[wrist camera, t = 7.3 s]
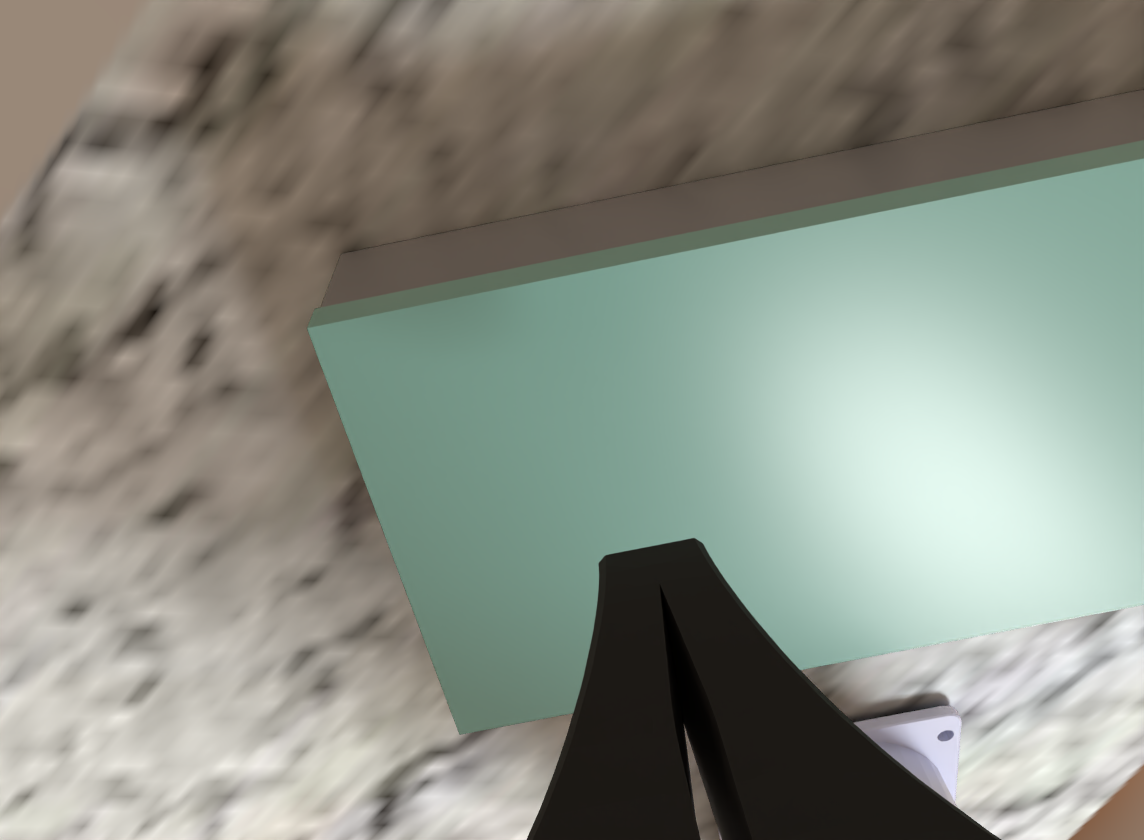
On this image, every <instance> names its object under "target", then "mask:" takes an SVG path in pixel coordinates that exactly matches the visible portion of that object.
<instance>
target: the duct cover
mask: <svg viewBox="0 0 1144 840" xmlns="http://www.w3.org/2000/svg"><path fill="white" fill-rule="evenodd" d="M307 330H308V333H309V335H310V338H311V341H312V343H313V346H314V349H315V351H316V354H317V356H318V359H319V362H320V364H321V367H322V370H323V372H324V375H325V378H326V380H327V383H328V386H329V388H330V391H331V394H332V396H333V399H334V402H335V404H336V407H337V410H338V412H339V415H340V418H341V420H342V423H343V426H344V428H345V431H346V434H347V436H348V439H349V442H350V444H351V447H352V450H353V452H354V455H355V458H356V460H357V463H358V466H359V468H360V471H361V474H362V476H363V479H364V482H365V484H366V487H367V490H368V492H369V495H370V498H371V500H372V503H373V506H374V508H375V511H376V514H377V516H378V519H379V522H380V524H381V527H382V530H383V532H384V535H385V538H386V540H387V543H388V545H389V548H390V551H391V553H392V556H393V559H394V561H395V564H396V567H397V569H398V572H399V575H400V577H401V580H402V583H403V585H404V588H405V591H406V593H407V596H408V599H409V601H410V604H411V607H412V609H413V612H414V615H415V617H416V620H417V623H418V625H419V628H420V631H421V633H422V636H423V639H424V641H425V644H426V647H427V649H428V652H429V655H430V657H431V660H432V663H433V665H434V668H435V671H436V673H437V676H438V679H439V681H440V684H441V687H442V689H443V692H444V695H445V697H446V700H447V703H448V705H449V708H450V711H451V713H452V716H453V719H454V721H455V724H456V727H457V729H458V732H459V735H461V734H466V733H471V732H477V731H482V730H487V729H492V728H498V727H503V726H508V725H514V724H519V723H524V722H529V721H535V720H540V719H545V718H550V717H556V716H561V715H566V714H572V713H574V709H575V706H576V702H577V699H578V695H579V692H580V688H581V685H582V681H583V677H584V672H585V667H586V663H587V658H588V653H589V649H590V644H591V639H592V635H593V629H594V622H595V616H596V609H597V601H598V589H599V564H598V563H599V562H600V561H601V560H602V558H603V557H604V556H605V555H608V554H613V553H619V552H624V551H629V550H634V549H639V548H644V547H650V546H655V545H660V544H665V543H670V542H675V541H681V540H686V539H691V538H695V539H697V540H699V541H700V542H702V543H703V544H704V546H705V548H706V550H707V552H708V553H709V555H710V557H711V558H712V560H713V562H714V563H715V565H716V566H717V568H718V569H719V571H720V573H721V574H722V575H723V577H724V578H725V580H726V581H727V583H728V584H729V585H730V587H731V588H732V589H733V591H734V592H735V593H736V595H737V596H738V598H739V599H740V600H741V602H742V603H743V604H744V605H745V607H746V608H747V609H748V611H749V612H750V613H751V614H752V616H753V617H754V618H755V619H756V620H757V622H758V623H759V624H760V625H761V626H762V627H763V629H764V630H765V631H766V632H767V633H768V635H769V636H770V637H771V638H772V639H773V640H774V642H775V643H776V644H777V645H778V646H779V647H780V649H781V650H782V651H783V652H784V653H785V654H786V655H787V656H788V657H789V659H790V660H791V661H792V662H793V663H794V664H795V665H796V666H797V667H798V668H799V669H800V670H803V669H809V668H814V667H819V666H825V665H830V664H835V663H840V662H846V661H851V660H856V659H861V658H867V657H872V656H877V655H883V654H888V653H893V652H898V651H904V650H909V649H914V648H919V647H925V646H930V645H935V644H940V643H946V642H951V641H956V640H962V639H967V638H972V637H977V636H983V635H988V634H993V633H998V632H1004V631H1009V630H1014V629H1020V628H1025V627H1030V626H1035V625H1041V624H1046V623H1051V622H1056V621H1062V620H1067V619H1072V618H1078V617H1083V616H1088V615H1093V614H1099V613H1104V612H1109V611H1114V610H1120V609H1125V608H1130V607H1135V606H1141V605H1144V140H1142V141H1137V142H1132V143H1127V144H1122V145H1118V146H1113V147H1108V148H1103V149H1098V150H1093V151H1088V152H1083V153H1078V154H1073V155H1068V156H1063V157H1058V158H1054V159H1049V160H1044V161H1039V162H1034V163H1029V164H1024V165H1019V166H1014V167H1009V168H1004V169H999V170H995V171H990V172H985V173H980V174H975V175H970V176H965V177H960V178H955V179H950V180H945V181H940V182H935V183H931V184H926V185H921V186H916V187H911V188H906V189H901V190H896V191H891V192H886V193H881V194H876V195H872V196H867V197H862V198H857V199H852V200H847V201H842V202H837V203H832V204H827V205H822V206H817V207H813V208H808V209H803V210H798V211H793V212H788V213H783V214H778V215H773V216H768V217H763V218H758V219H753V220H749V221H744V222H739V223H734V224H729V225H724V226H719V227H714V228H709V229H704V230H699V231H694V232H690V233H685V234H680V235H675V236H670V237H665V238H660V239H655V240H650V241H645V242H640V243H635V244H630V245H626V246H621V247H616V248H611V249H606V250H601V251H596V252H591V253H586V254H581V255H576V256H571V257H567V258H562V259H557V260H552V261H547V262H542V263H537V264H532V265H527V266H522V267H517V268H512V269H507V270H503V271H498V272H493V273H488V274H483V275H478V276H473V277H468V278H463V279H458V280H453V281H448V282H444V283H439V284H434V285H429V286H424V287H419V288H414V289H409V290H404V291H399V292H394V293H389V294H385V295H380V296H375V297H370V298H365V299H360V300H355V301H350V302H345V303H340V304H335V305H330V306H325V307H321V308H316V309H315V310H314V312H313V314H312V317H311V319H310V322H309V324H308V327H307Z"/></svg>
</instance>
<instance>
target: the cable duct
mask: <svg viewBox="0 0 1144 840" xmlns="http://www.w3.org/2000/svg"><path fill="white" fill-rule="evenodd" d="M1142 140H1144V90H1139V91H1134V92H1129V93H1124V94H1119V95H1114V96H1109V97H1104V98H1100V99H1095V100H1090V101H1085V102H1080V103H1075V104H1070V105H1065V106H1061V107H1056V108H1051V109H1046V110H1041V111H1036V112H1031V113H1026V114H1021V115H1017V116H1012V117H1007V118H1002V119H997V120H992V121H987V122H982V123H977V124H973V125H968V126H963V127H958V128H953V129H948V130H943V131H938V132H934V133H929V134H924V135H919V136H914V137H909V138H904V139H899V140H894V141H890V142H885V143H880V144H875V145H870V146H865V147H860V148H855V149H851V150H846V151H841V152H836V153H831V154H826V155H821V156H816V157H811V158H807V159H802V160H797V161H792V162H787V163H782V164H777V165H772V166H767V167H763V168H758V169H753V170H748V171H743V172H738V173H733V174H728V175H724V176H719V177H714V178H709V179H704V180H699V181H694V182H689V183H684V184H680V185H675V186H670V187H665V188H660V189H655V190H650V191H645V192H640V193H636V194H631V195H626V196H621V197H616V198H611V199H606V200H601V201H597V202H592V203H587V204H582V205H577V206H572V207H567V208H562V209H557V210H553V211H548V212H543V213H538V214H533V215H528V216H523V217H518V218H514V219H509V220H504V221H499V222H494V223H489V224H484V225H479V226H474V227H470V228H465V229H460V230H455V231H450V232H445V233H440V234H435V235H430V236H426V237H421V238H416V239H411V240H406V241H401V242H396V243H391V244H387V245H382V246H377V247H372V248H367V249H362V250H357V251H352V252H347V253H343V254H341V255H340V258H339V260H338V263H337V266H336V268H335V271H334V274H333V276H332V279H331V281H330V284H329V287H328V289H327V292H326V294H325V297H324V300H323V302H322V305H321V307H325V306H330V305H335V304H340V303H345V302H350V301H355V300H360V299H365V298H370V297H375V296H380V295H385V294H389V293H394V292H399V291H404V290H409V289H414V288H419V287H424V286H429V285H434V284H439V283H444V282H448V281H453V280H458V279H463V278H468V277H473V276H478V275H483V274H488V273H493V272H498V271H503V270H507V269H512V268H517V267H522V266H527V265H532V264H537V263H542V262H547V261H552V260H557V259H562V258H567V257H571V256H576V255H581V254H586V253H591V252H596V251H601V250H606V249H611V248H616V247H621V246H626V245H630V244H635V243H640V242H645V241H650V240H655V239H660V238H665V237H670V236H675V235H680V234H685V233H690V232H694V231H699V230H704V229H709V228H714V227H719V226H724V225H729V224H734V223H739V222H744V221H749V220H753V219H758V218H763V217H768V216H773V215H778V214H783V213H788V212H793V211H798V210H803V209H808V208H813V207H817V206H822V205H827V204H832V203H837V202H842V201H847V200H852V199H857V198H862V197H867V196H872V195H876V194H881V193H886V192H891V191H896V190H901V189H906V188H911V187H916V186H921V185H926V184H931V183H935V182H940V181H945V180H950V179H955V178H960V177H965V176H970V175H975V174H980V173H985V172H990V171H995V170H999V169H1004V168H1009V167H1014V166H1019V165H1024V164H1029V163H1034V162H1039V161H1044V160H1049V159H1054V158H1058V157H1063V156H1068V155H1073V154H1078V153H1083V152H1088V151H1093V150H1098V149H1103V148H1108V147H1113V146H1118V145H1122V144H1127V143H1132V142H1137V141H1142ZM321 307H320V308H321Z"/></svg>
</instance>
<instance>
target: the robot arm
mask: <svg viewBox="0 0 1144 840" xmlns="http://www.w3.org/2000/svg"><path fill="white" fill-rule="evenodd" d="M598 564H599V589H598V601H597V609H596V616H595V622H594V629H593V635H592V639H591V644H590V649H589V653H588V658H587V663H586V667H585V672H584V677H583V681H582V685H581V688H580V692H579V695H578V699H577V702H576V706H575V709H574V713H573V716H572V719H571V723H570V726H569V730H568V733H567V737H566V740H565V743H564V746H563V749H562V752H561V755H560V757H559V760H558V763H557V766H556V769H555V772H554V774H553V777H552V780H551V782H550V785H549V787H548V790H547V793H546V795H545V798H544V800H543V803H542V805H541V808H540V810H539V813H538V815H537V817H536V819H535V822H534V824H533V826H532V829H531V831H530V833H529V835H528V838H527V840H700V836H699V831H698V827H697V823H696V817H695V809H694V802H693V794H692V786H691V778H690V770H689V762H688V754H687V746H686V738H685V730H684V725H685V728H686V731H687V734H688V738H689V741H690V744H691V747H692V750H693V753H694V756H695V759H696V762H697V765H698V768H699V771H700V774H701V777H702V780H703V784H704V787H705V790H706V793H707V796H708V799H709V802H710V805H711V808H712V811H713V814H714V817H715V820H716V823H717V826H718V831H719V837H720V840H1001V839H999V838H998V837H996V836H995V835H994V834H992V833H991V832H989V831H988V830H986V829H985V828H984V827H982V826H981V825H980V824H978V823H977V822H976V821H974V820H973V819H972V818H970V817H969V816H968V815H966V814H965V813H964V812H962V811H961V810H960V809H958V808H957V806H956V804H955V800H956V787H957V774H958V761H959V748H960V735H961V722H962V721H961V717H960V715H959V714H958V712H957V710H956V709H955V708H954V707H951V706H938V707H933V708H927V709H922V710H917V711H911V712H906V713H901V714H895V715H890V716H885V717H879V718H874V719H869V720H864V721H858V722H852V721H851V720H850V719H849V718H848V717H847V716H845V715H844V714H843V713H842V712H841V711H840V710H839V709H838V708H837V707H836V706H835V705H834V704H833V703H832V702H831V701H830V700H829V699H828V698H827V697H826V696H825V695H824V694H823V693H822V692H821V691H820V690H819V689H818V688H817V687H816V686H815V685H814V684H813V683H812V682H811V681H810V680H809V679H808V678H807V677H806V676H805V675H804V674H803V673H802V672H801V671H800V669H799V668H798V667H797V666H796V665H795V664H794V663H793V662H792V661H791V660H790V659H789V657H788V656H787V655H786V654H785V653H784V652H783V651H782V650H781V649H780V647H779V646H778V645H777V644H776V643H775V642H774V640H773V639H772V638H771V637H770V636H769V635H768V633H767V632H766V631H765V630H764V629H763V627H762V626H761V625H760V624H759V623H758V622H757V620H756V619H755V618H754V617H753V616H752V614H751V613H750V612H749V611H748V609H747V608H746V607H745V605H744V604H743V603H742V602H741V600H740V599H739V598H738V596H737V595H736V593H735V592H734V591H733V589H732V588H731V587H730V585H729V584H728V583H727V581H726V580H725V578H724V577H723V575H722V574H721V573H720V571H719V569H718V568H717V566H716V565H715V563H714V562H713V560H712V558H711V557H710V555H709V553H708V552H707V550H706V548H705V546H704V544H703V543H702V542H700V541H699V540H697V539H695V538H691V539H686V540H681V541H675V542H670V543H665V544H660V545H655V546H650V547H644V548H639V549H634V550H629V551H624V552H619V553H613V554H608V555H605V556H604V557H603V558H602V560H601V561H600V562H599V563H598Z"/></svg>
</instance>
